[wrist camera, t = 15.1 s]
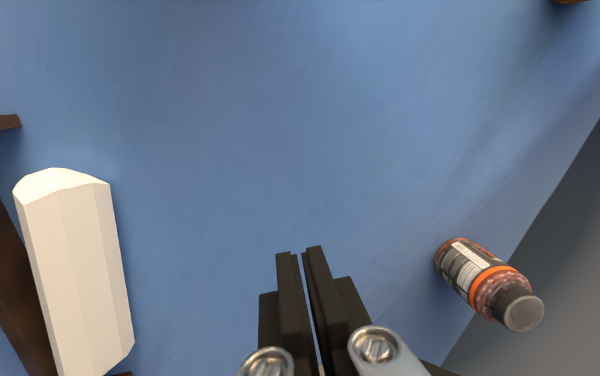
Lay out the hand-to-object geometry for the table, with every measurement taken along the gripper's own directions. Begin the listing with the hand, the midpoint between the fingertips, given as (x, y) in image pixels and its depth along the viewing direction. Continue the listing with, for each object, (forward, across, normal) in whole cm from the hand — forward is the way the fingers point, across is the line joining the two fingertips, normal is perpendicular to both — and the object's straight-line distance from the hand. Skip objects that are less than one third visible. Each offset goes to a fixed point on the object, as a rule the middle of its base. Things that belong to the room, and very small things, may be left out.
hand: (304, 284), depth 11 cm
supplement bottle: (+24, -20, +17) cm, 35 cm away
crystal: (+24, +23, +8) cm, 34 cm away
